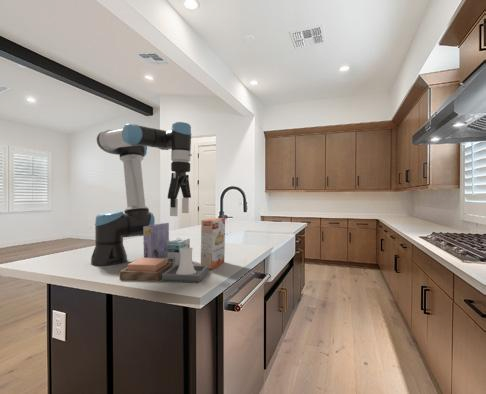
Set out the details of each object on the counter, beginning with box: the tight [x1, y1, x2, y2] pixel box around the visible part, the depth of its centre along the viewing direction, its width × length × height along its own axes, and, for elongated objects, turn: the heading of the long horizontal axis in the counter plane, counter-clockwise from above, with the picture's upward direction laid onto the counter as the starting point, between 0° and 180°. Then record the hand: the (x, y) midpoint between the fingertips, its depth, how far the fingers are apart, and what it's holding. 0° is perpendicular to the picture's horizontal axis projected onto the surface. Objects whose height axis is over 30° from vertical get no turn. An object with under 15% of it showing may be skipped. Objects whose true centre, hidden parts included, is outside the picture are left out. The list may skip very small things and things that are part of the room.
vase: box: [176, 247, 196, 275], centre depth 104 cm, size 8×8×10 cm
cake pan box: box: [142, 222, 170, 258], centre depth 128 cm, size 19×5×18 cm, turn 172°
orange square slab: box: [127, 257, 167, 272], centre depth 106 cm, size 11×11×2 cm
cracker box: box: [200, 217, 226, 270], centre depth 120 cm, size 14×6×21 cm, turn 162°
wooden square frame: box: [119, 262, 174, 282], centre depth 106 cm, size 15×15×3 cm
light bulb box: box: [167, 237, 191, 266], centre depth 125 cm, size 11×7×11 cm, turn 168°
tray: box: [161, 264, 209, 284], centre depth 104 cm, size 14×14×2 cm
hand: (179, 214), depth 108 cm, fingers open, 13 cm apart
